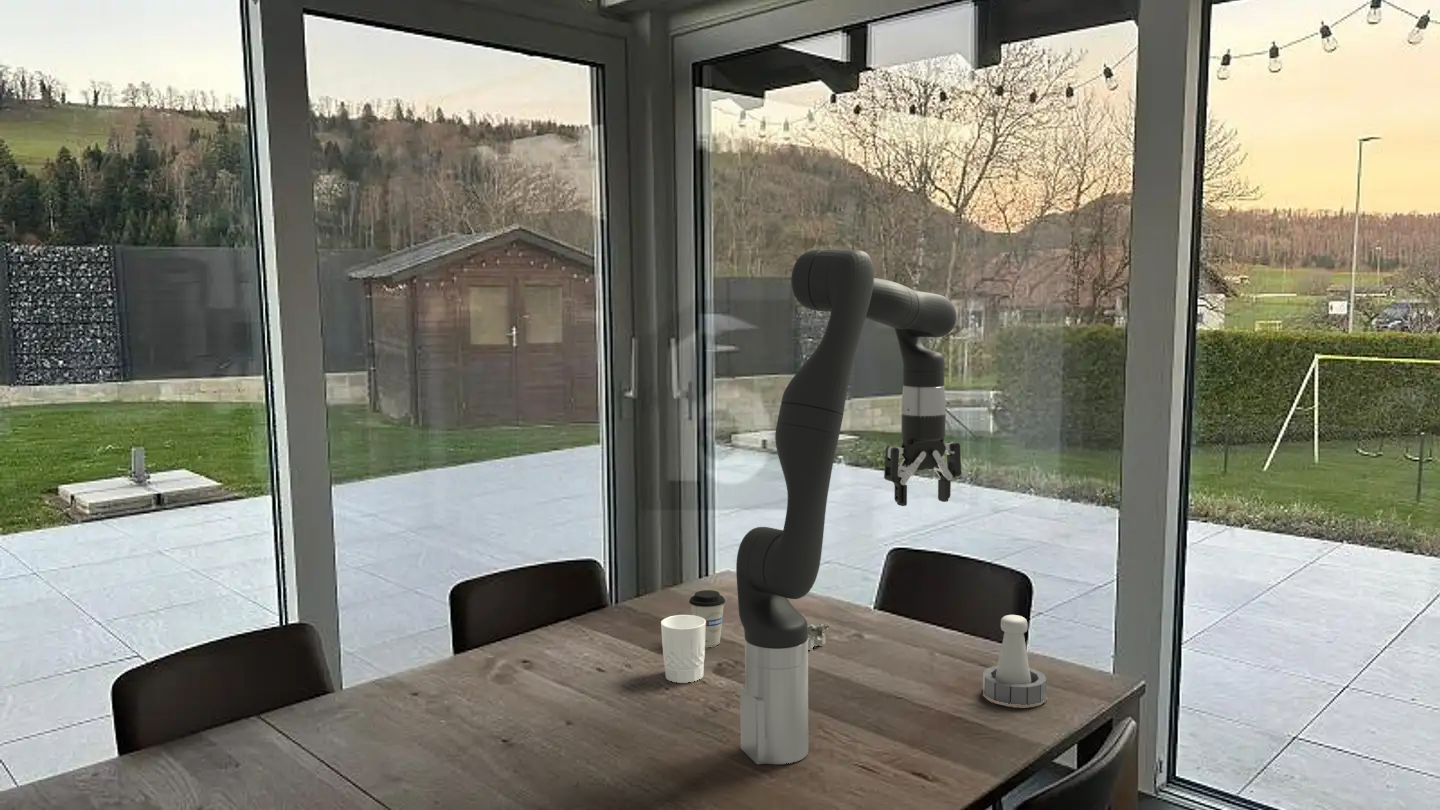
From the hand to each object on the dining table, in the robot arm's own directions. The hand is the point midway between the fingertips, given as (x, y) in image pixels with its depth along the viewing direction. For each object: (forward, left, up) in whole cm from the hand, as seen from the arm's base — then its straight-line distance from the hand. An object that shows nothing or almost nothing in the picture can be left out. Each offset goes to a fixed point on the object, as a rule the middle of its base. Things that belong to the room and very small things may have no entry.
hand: (922, 503), depth 183 cm
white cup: (-40, +14, -30) cm, 52 cm away
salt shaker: (+7, -17, -30) cm, 35 cm away
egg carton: (-14, +22, -31) cm, 40 cm away
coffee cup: (-30, +28, -30) cm, 51 cm away
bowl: (+7, -17, -30) cm, 35 cm away
